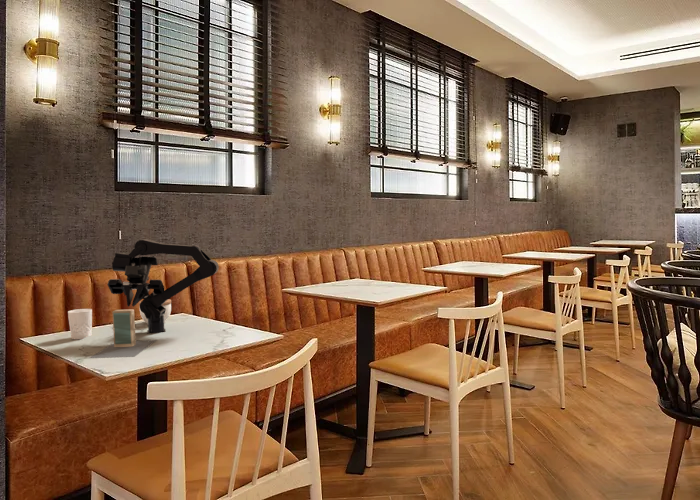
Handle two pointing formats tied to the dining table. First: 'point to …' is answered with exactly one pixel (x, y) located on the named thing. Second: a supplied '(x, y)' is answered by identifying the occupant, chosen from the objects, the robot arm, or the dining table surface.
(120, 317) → the birch block
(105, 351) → the rubber mat
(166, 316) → the lidded bowl
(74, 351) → the dining table surface
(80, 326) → the white cup
